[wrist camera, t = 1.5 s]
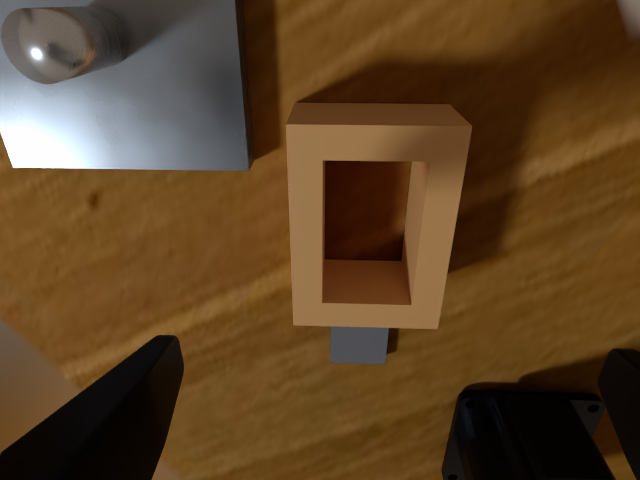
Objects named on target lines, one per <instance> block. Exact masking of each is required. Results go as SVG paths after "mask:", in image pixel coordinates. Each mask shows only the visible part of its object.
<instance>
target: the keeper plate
mask: <svg viewBox="0 0 640 480" xmlns="http://www.w3.org/2000/svg"><path fill="white" fill-rule="evenodd" d="M0 132H1V135H2V137H3V140H4V143H5V146H6V149H7V151H8V154H9V157H10V160H11V162H12V165H13V167H21V168H89V169H157V170H226V171H249V170H250V168H251V166H252V164H253V162H254V152H253V139H252V126H251V113H250V100H249V87H248V74H247V61H246V47H245V34H244V21H243V8H242V0H0Z"/></svg>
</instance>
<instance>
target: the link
mask: <svg viewBox="0 0 640 480" xmlns="http://www.w3.org/2000/svg"><path fill="white" fill-rule="evenodd" d="M471 132H472V125H471V124H470V123H468V122H467V121H466V120H465V119H464V118H463V117H462V116H461V115H460V114H459V113H458V112H457V111H456V110H455V109H454V108H453V107H452V106H451V105H450V104H387V103H295V104H294V107H293V109H292V111H291V114H290V116H289V118H288V121H287V123H286V139H287V166H288V193H289V219H290V246H291V273H292V299H293V325H304V326H341V327H378V328H415V329H438V324H439V319H440V313H441V307H442V301H443V295H444V290H445V284H446V278H447V272H448V266H449V260H450V255H451V249H452V243H453V237H454V231H455V225H456V220H457V214H458V208H459V202H460V196H461V190H462V185H463V179H464V173H465V167H466V161H467V156H468V150H469V144H470V138H471ZM325 160H330V161H403V162H412V166H411V176H410V185H409V194H408V203H407V213H406V222H405V231H404V240H403V250H402V259H401V261H376V260H330V259H325Z"/></svg>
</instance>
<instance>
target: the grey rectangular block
mask: <svg viewBox="0 0 640 480" xmlns="http://www.w3.org/2000/svg"><path fill="white" fill-rule="evenodd" d="M388 332H389V328H378V327H341V326H331V361H330V362H331V363H365V364H385V362H386V352H387V342H388Z"/></svg>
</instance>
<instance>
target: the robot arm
mask: <svg viewBox="0 0 640 480" xmlns="http://www.w3.org/2000/svg"><path fill="white" fill-rule="evenodd" d="M183 372H184V363H183V358H182V353H181V348H180V343H179V340H178V338H177V337H176V336H174V335H158V336H156V337H154V338H153V339H151V340H150V341H149V342H147V343H146V344H145V345H143V346H142V347H141V348H139V349H138V350H137V351H135V352H134V353H133V354H131V355H130V356H129V357H127V358H126V359H125V360H123V361H122V362H121V363H119V364H118V365H117V366H115V367H114V368H113V369H111V370H110V371H109V372H107V373H106V374H105V375H103V376H102V377H101V378H99V379H98V380H97V381H95V382H94V383H93V384H91V385H90V386H89V387H87V388H86V389H85V390H83V391H82V392H81V393H79V394H78V395H77V396H75V397H74V398H73V399H71V400H70V401H69V402H68V403H66V404H65V405H64V406H62V407H61V408H59V409H58V410H57V411H55V412H54V413H53V414H51V415H50V416H49V417H48V418H46V419H45V420H44V421H42V422H41V423H39V424H38V425H37V426H36V427H34V428H33V429H31V430H30V431H29V432H28V433H26V434H25V435H24V436H22V437H21V438H20V439H18V440H17V441H16V442H14V443H13V444H11V445H10V446H9V447H8V448H6V449H5V450H3V451H2V452H1V454H0V480H151V479H152V477H153V474H154V472H155V469H156V466H157V464H158V461H159V459H160V456H161V453H162V450H163V448H164V445H165V442H166V438H167V435H168V431H169V427H170V423H171V420H172V416H173V412H174V408H175V404H176V400H177V397H178V393H179V389H180V385H181V381H182V377H183ZM598 387H599V390H600V393H601V396H602V398H603V401H604V403H605V405H604V403H603V401H602V400H601V398H600V397H599V396H598V395H596V394H584V393H553V392H521V391H490V390H465V391H463V392H461V393H460V394H459V395H458V398H457V402H456V407H455V411H454V416H453V420H452V425H451V429H450V434H449V438H448V443H447V447H446V452H445V456H444V461H443V465H442V476H443V480H616V479H615V477H614V475H613V474H612V472H611V470H610V468H609V467H608V465H607V463H606V461H605V460H604V458H603V456H602V454H601V453H600V451H599V449H598V447H597V446H596V444H595V442H594V440H593V439H592V435H593V433H594V431H595V428H596V426H597V424H598V422H599V420H600V418H601V416H602V414H603V411H604V409H605V406H606V408H607V411H608V413H609V416H610V419H611V421H612V424H613V426H614V429H615V431H616V434H617V436H618V439H619V442H620V444H621V447H622V449H623V451H624V454H625V456H626V458H627V461H628V463H629V465H630V467H631V469H632V471H633V473H634V475H635V477H636V479H637V480H640V352H639V351H637V350H634V349H618V348H616V349H612V350H611V351H610V352H609V353H608V355H607V358H606V360H605V362H604V365H603V367H602V369H601V372H600V374H599V377H598Z"/></svg>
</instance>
